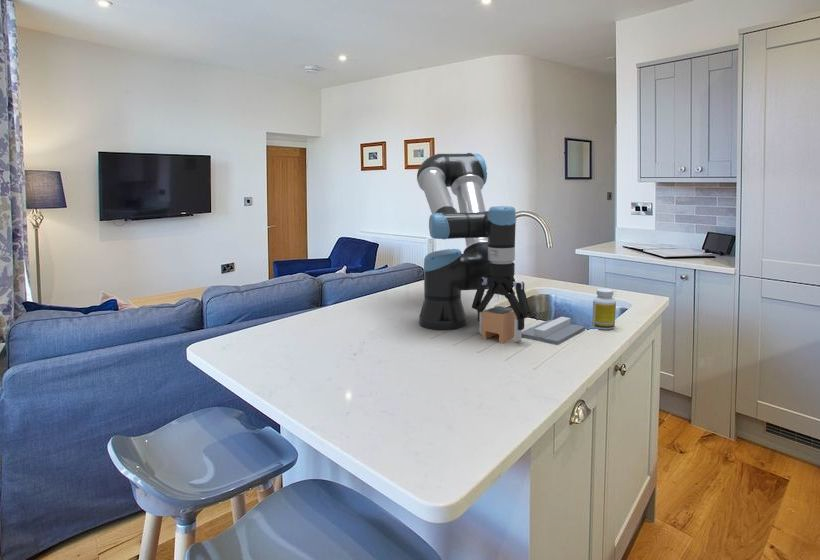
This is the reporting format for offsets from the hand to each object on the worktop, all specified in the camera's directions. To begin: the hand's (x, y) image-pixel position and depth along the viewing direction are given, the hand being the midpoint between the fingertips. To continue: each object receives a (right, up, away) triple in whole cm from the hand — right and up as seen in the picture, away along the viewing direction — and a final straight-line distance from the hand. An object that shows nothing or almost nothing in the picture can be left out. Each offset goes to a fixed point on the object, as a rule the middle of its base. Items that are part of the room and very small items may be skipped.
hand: (499, 336), depth 146 cm
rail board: (+16, +1, +3) cm, 16 cm away
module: (0, 0, 0) cm, 0 cm away
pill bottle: (+33, +2, +8) cm, 34 cm away
